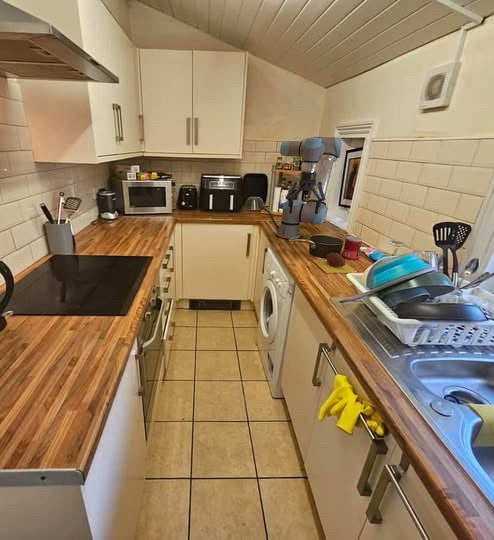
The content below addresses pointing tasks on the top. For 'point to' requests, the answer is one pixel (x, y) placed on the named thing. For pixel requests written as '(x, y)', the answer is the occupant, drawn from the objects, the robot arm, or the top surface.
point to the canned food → (352, 247)
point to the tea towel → (331, 269)
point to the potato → (335, 260)
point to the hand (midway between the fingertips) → (303, 213)
